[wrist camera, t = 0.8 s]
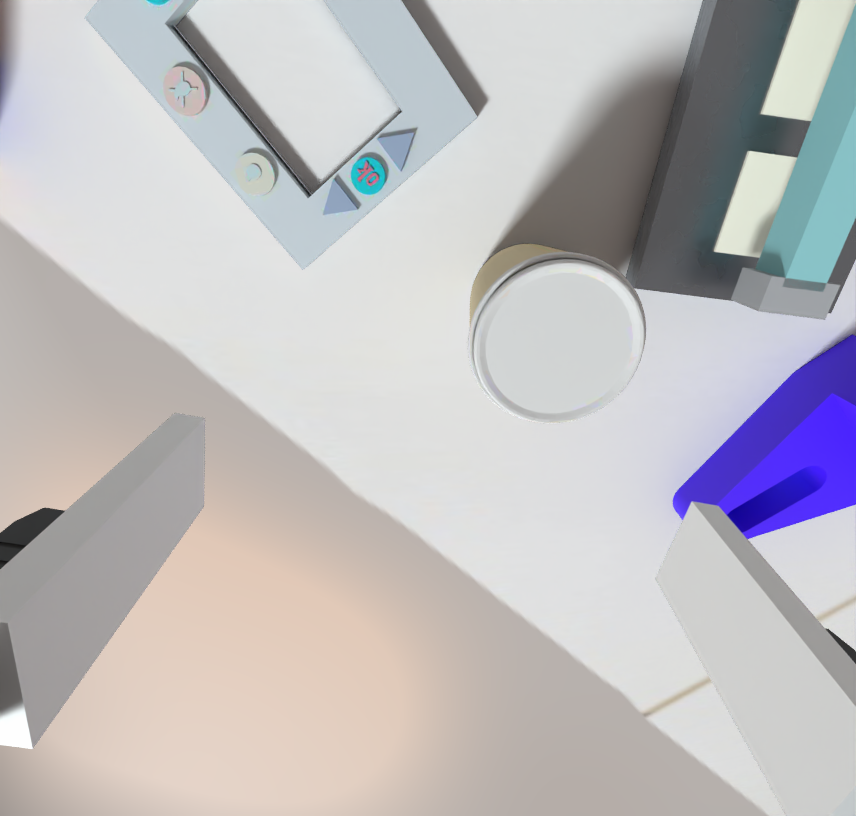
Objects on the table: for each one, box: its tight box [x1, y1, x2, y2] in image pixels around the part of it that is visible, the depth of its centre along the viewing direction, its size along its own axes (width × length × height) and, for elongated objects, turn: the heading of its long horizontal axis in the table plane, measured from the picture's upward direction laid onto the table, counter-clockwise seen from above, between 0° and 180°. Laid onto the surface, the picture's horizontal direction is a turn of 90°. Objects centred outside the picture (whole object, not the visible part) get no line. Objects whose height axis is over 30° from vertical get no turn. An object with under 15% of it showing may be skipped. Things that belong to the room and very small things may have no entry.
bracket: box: [673, 335, 856, 539], centre depth 37 cm, size 18×11×12 cm, turn 131°
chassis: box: [626, 0, 856, 313], centre depth 30 cm, size 24×14×4 cm, turn 173°
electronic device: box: [85, 0, 477, 270], centre depth 31 cm, size 18×2×15 cm
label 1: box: [714, 151, 797, 258], centre depth 33 cm, size 6×5×1 cm
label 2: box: [761, 0, 856, 121], centre depth 29 cm, size 6×5×1 cm
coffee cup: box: [468, 244, 646, 423], centre depth 32 cm, size 9×9×12 cm
